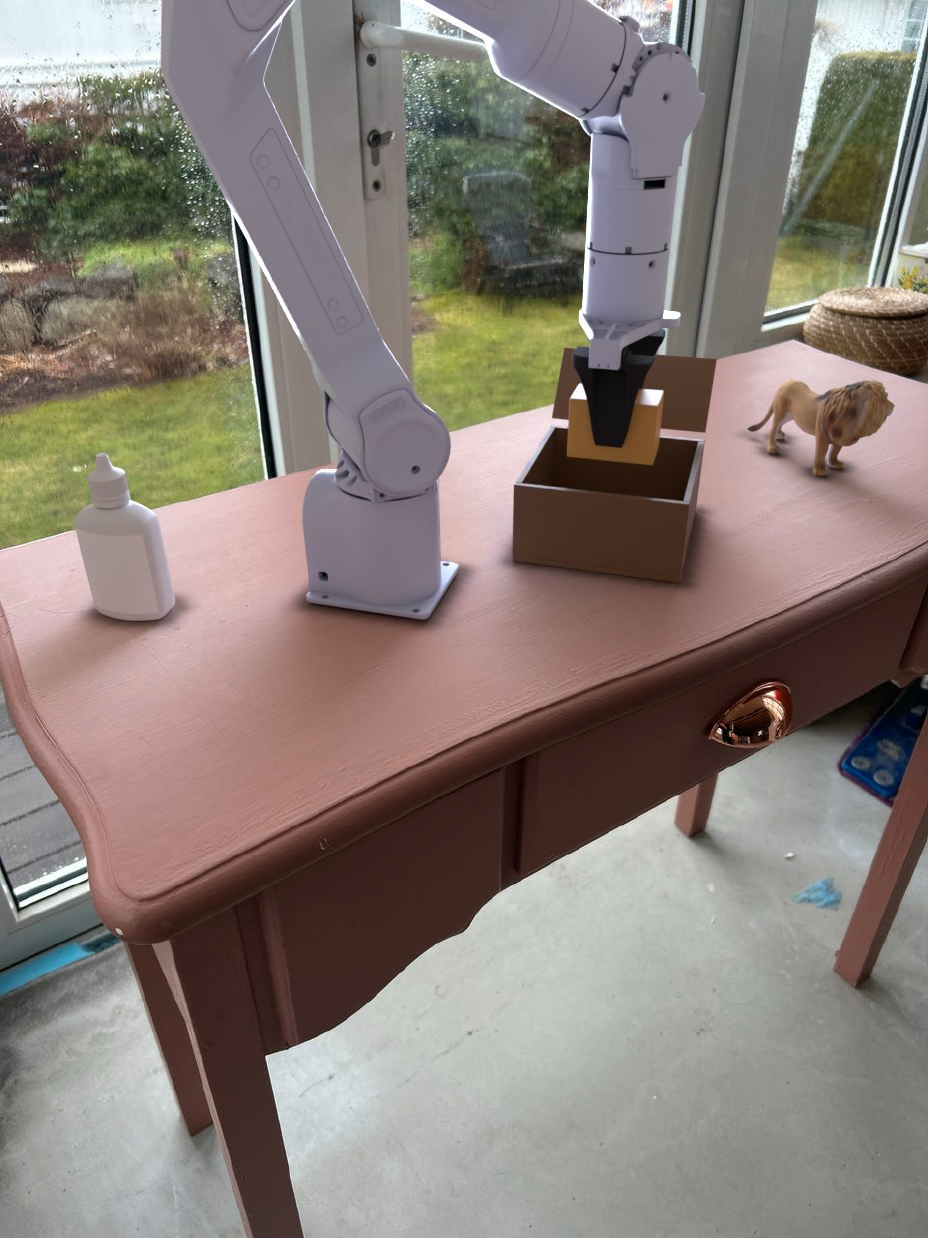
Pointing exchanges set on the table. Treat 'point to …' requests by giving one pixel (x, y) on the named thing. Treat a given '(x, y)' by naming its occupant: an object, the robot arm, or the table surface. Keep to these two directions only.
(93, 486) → the eye dropper bottle
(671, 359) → the flap
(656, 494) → the bread box
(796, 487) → the table surface
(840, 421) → the lion figurine
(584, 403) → the beige block
